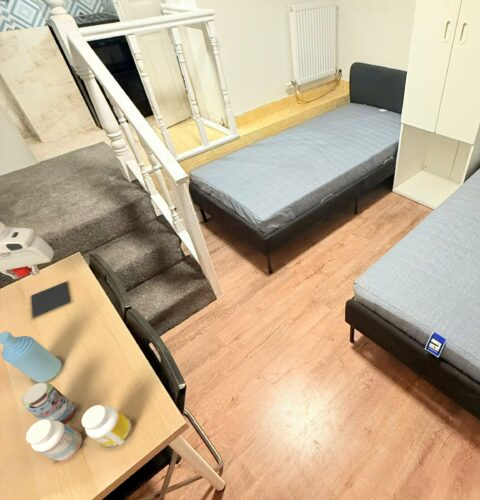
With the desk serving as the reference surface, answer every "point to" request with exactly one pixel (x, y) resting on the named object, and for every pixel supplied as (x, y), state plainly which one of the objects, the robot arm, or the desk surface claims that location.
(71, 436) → the pill bottle
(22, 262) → the robot arm
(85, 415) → the pill bottle
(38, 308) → the coaster
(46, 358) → the water bottle
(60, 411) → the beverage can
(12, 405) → the desk surface
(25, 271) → the cap
